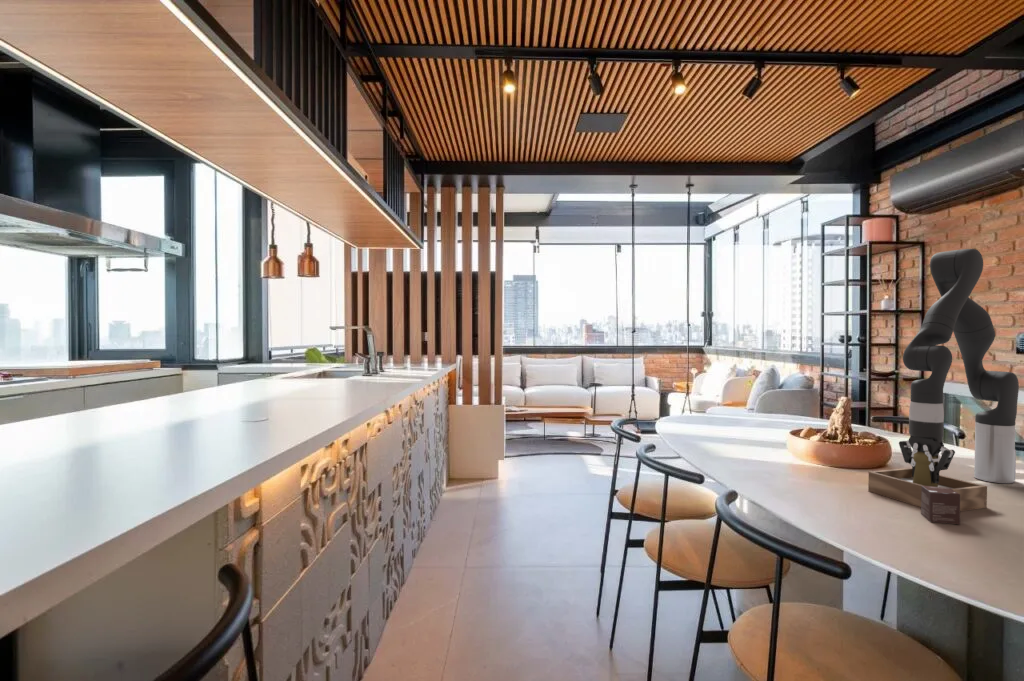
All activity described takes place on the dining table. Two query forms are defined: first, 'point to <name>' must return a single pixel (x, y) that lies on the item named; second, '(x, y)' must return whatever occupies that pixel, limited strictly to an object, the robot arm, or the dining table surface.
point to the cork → (923, 470)
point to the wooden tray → (904, 489)
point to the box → (940, 504)
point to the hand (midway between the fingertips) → (925, 482)
